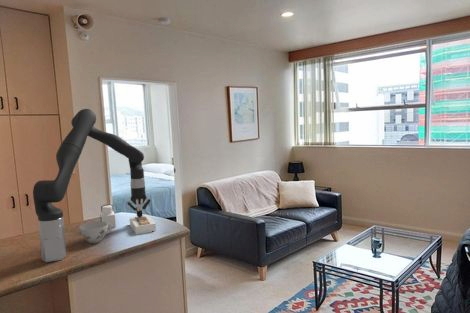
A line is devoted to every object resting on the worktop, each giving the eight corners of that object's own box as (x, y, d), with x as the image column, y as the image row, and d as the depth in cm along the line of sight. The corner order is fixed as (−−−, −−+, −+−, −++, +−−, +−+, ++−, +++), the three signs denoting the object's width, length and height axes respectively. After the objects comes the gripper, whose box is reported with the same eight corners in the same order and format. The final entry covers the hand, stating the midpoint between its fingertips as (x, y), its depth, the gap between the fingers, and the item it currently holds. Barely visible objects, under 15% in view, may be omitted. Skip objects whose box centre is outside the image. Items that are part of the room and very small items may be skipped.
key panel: (155, 231, 172) (155, 223, 171) (136, 234, 167) (135, 226, 167) (148, 221, 189) (147, 214, 188) (129, 224, 184) (129, 217, 184)
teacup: (86, 248, 151) (84, 231, 150) (76, 241, 160) (75, 225, 159) (118, 239, 161) (117, 223, 160) (107, 233, 170) (106, 218, 169)
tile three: (145, 222, 182) (144, 217, 182) (136, 223, 180) (136, 218, 180) (143, 220, 186) (143, 215, 186) (135, 221, 184) (135, 216, 184)
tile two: (147, 223, 177) (146, 218, 176) (138, 224, 175) (138, 219, 174) (145, 221, 181) (145, 216, 180) (137, 222, 179) (136, 217, 178)
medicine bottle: (101, 225, 183) (99, 204, 182) (114, 223, 186) (113, 202, 185) (101, 229, 177) (100, 207, 175) (115, 227, 180) (114, 205, 178)
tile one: (149, 226, 171) (149, 221, 171) (141, 227, 169) (140, 222, 169) (147, 223, 175) (147, 219, 175) (139, 225, 173) (139, 220, 173)
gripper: (126, 188, 175) (128, 220, 177) (151, 186, 181) (153, 217, 183) (124, 186, 181) (126, 217, 183) (148, 183, 187) (150, 213, 189)
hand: (139, 217), depth 183 cm, fingers closed
